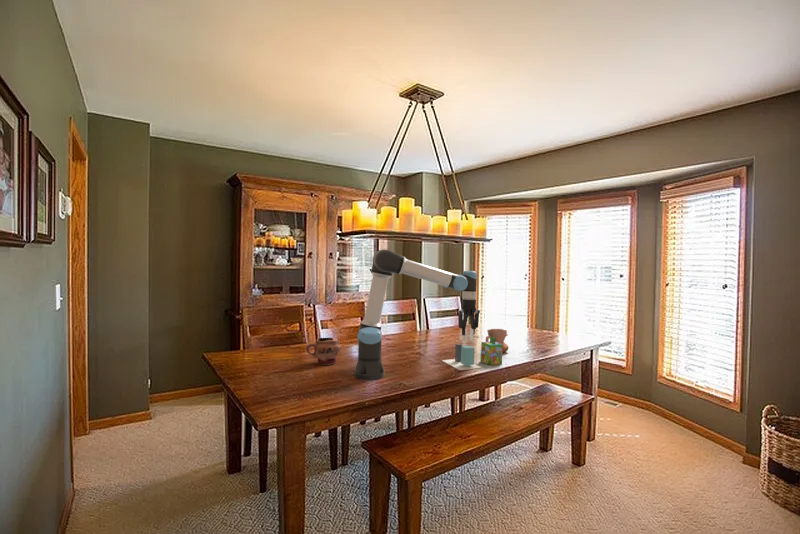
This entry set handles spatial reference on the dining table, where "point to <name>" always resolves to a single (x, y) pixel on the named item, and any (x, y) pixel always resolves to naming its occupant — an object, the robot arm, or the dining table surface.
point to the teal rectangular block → (467, 355)
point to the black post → (458, 352)
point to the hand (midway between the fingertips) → (468, 340)
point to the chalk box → (491, 352)
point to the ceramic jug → (498, 337)
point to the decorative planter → (325, 350)
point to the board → (460, 365)
